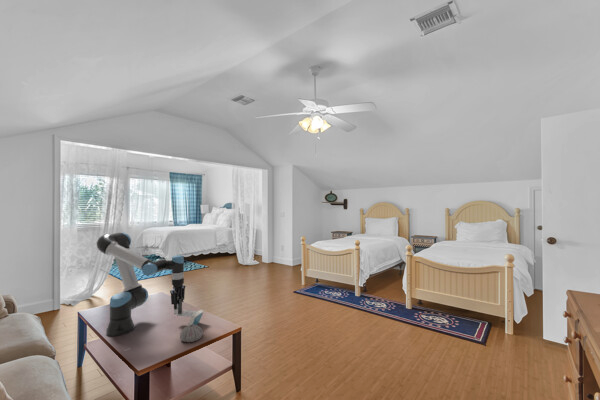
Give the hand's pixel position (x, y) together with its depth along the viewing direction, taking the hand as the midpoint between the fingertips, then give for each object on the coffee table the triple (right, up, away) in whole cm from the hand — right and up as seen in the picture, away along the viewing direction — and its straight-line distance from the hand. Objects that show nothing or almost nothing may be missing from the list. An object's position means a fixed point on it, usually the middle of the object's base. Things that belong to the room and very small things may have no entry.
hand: (178, 312), depth 189 cm
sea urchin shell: (+18, -7, -22) cm, 29 cm away
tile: (+12, -7, -3) cm, 14 cm away
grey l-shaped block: (+5, 0, -1) cm, 6 cm away
